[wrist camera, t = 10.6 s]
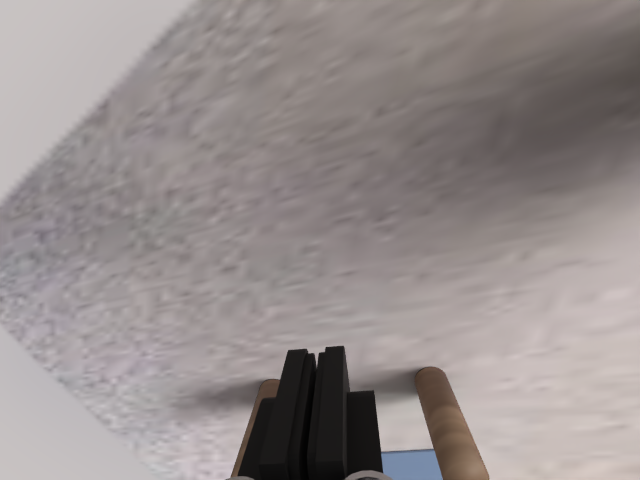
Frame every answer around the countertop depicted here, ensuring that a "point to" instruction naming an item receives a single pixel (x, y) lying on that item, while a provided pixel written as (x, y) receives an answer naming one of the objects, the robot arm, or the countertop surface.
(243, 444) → the post
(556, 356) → the countertop surface
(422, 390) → the post
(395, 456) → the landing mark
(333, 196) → the countertop surface
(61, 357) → the countertop surface
